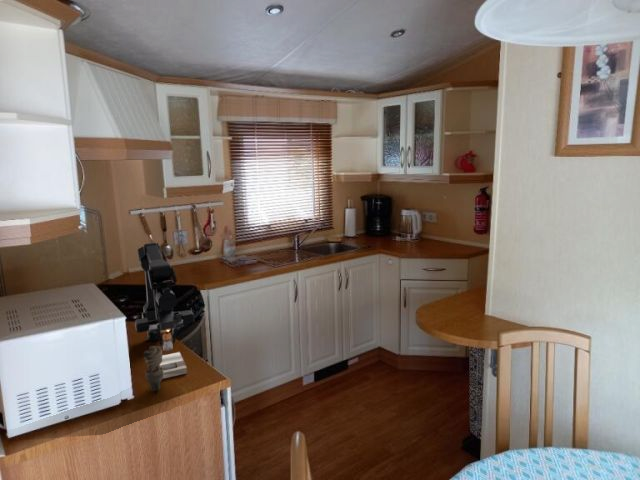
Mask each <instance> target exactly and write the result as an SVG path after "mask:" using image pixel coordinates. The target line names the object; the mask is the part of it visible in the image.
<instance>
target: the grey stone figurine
mask: <svg viewBox="0 0 640 480" xmlns="http://www.w3.org/2000/svg"><path fill="white" fill-rule="evenodd" d="M142 354H143V355H144V357H143V359H144V360H145V361H144V363H145V364H146V368H147V370H145V380H146V382H147V383H148V384H149V385H150V390H151V391H152V392H158V390H161V382H162V380H163V369H162V368H161V367H160V364H161V362H162V356H163V355H164V354H163V348H162V347H160V346H159V345H150V346H149V349H146V350H145V351H144V352H143V353H142Z"/></svg>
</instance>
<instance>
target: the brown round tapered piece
mask: <svg viewBox="0 0 640 480" xmlns="http://www.w3.org/2000/svg"><path fill="white" fill-rule="evenodd" d="M160 334H161V341H162V351H171V350H173V348H174V346H173V341H172V339H173V334H172V328H170V329H166V330H161V331H160Z"/></svg>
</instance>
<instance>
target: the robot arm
mask: <svg viewBox="0 0 640 480" xmlns="http://www.w3.org/2000/svg"><path fill="white" fill-rule="evenodd" d="M136 257H137V262H139V265H140V268H141V269H143V271H144V277H145V279H144V280H145V290H146V293H145V294H146V302H145V304H144V305H143V307H142V308H143V312H141V318H137V319H135V321H134V327H135V330H136V333H144V332H147V333H146V334H147V336H146V338H145V340H144V341H145V342H151V341H152V342H157V341H158V343H159V345H160V346H161V347H163V344H162V341H161V334H160V331H161V330H166V329H172V334H173V339H172V344H175V343H176V342H175V341H176V338H177V335H178V333H179V330H180V329H181V328H182V327H184V324H193V323H195V322H196V320H195V319H196V317H195V314H194V313H193V311H192V310H190V309H189V310H182V311H174V308H175V307H176V306H177V303H178V298H177V296H176V295H175V293H174V292H173V290H172V287H176V286H177V281H178V280H177V275H176V272H175V269H173V268H174V267H173V266H171V265H170V262H169V261H167V260H164V258H163V251H162V246H161V245H159V243H158V242H149V243H148V242H147V243H144V244H143V245H142V247H141V246H140V247H139V248H138V249H137V252H136Z"/></svg>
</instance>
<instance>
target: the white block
mask: <svg viewBox="0 0 640 480" xmlns="http://www.w3.org/2000/svg"><path fill="white" fill-rule="evenodd" d="M160 367H161V368H162V369H163V379H167V378H173V377H176V376H180V375H185V374H188V367H187V365H186V363H185V360H184V358H183V356H182V354H181V352H180V351H177V352H173V353H169V354H163V356H162V362H161V364H160ZM163 379H162V380H163Z"/></svg>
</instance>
